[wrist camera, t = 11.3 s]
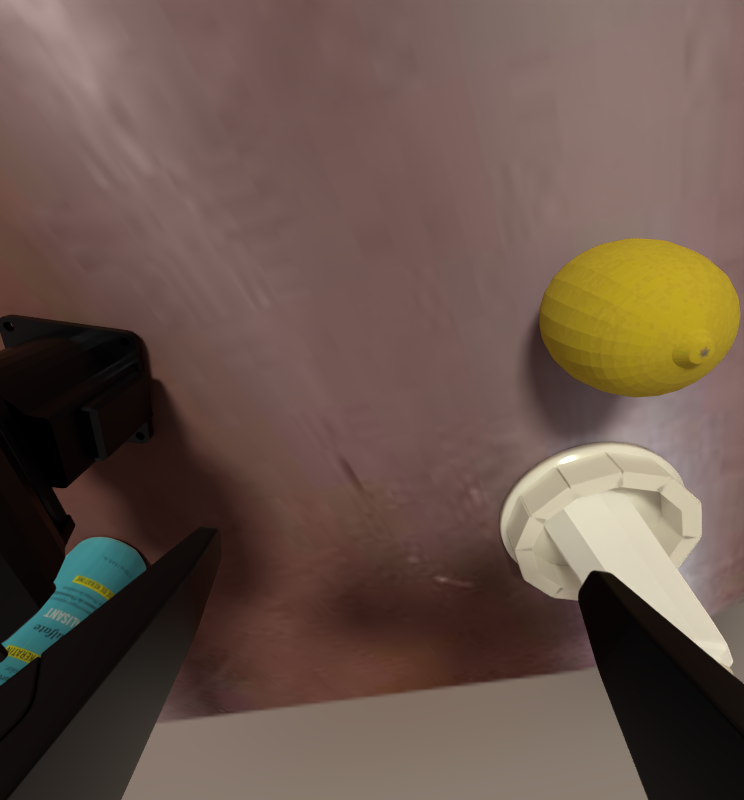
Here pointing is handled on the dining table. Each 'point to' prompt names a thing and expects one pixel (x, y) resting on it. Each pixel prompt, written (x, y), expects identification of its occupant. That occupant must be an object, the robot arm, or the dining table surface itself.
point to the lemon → (639, 317)
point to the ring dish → (584, 475)
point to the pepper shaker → (632, 563)
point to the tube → (73, 597)
